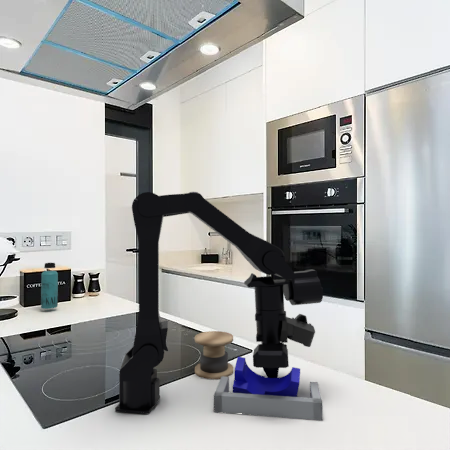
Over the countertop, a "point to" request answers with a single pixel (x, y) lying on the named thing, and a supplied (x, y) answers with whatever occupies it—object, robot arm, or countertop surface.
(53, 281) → the beverage bottle
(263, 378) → the cable clip
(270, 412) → the gray u-shaped bracket
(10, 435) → the countertop surface
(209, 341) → the bobbin
